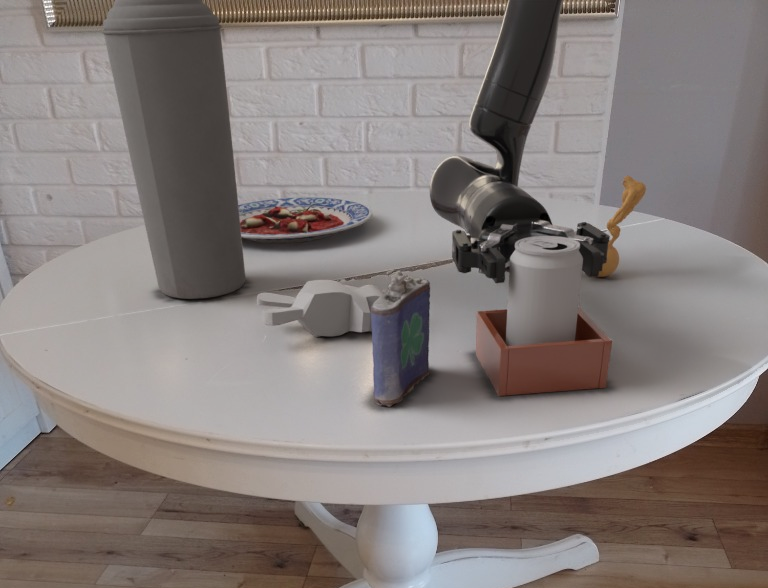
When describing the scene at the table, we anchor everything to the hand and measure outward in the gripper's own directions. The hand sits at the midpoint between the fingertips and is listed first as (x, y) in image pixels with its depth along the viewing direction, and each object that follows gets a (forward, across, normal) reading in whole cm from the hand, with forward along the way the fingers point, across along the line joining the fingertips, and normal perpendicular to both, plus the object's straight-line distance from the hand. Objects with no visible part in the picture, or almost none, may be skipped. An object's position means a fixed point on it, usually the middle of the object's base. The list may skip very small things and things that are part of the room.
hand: (549, 268), depth 70 cm
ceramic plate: (-62, -23, +10) cm, 67 cm away
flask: (0, -13, +10) cm, 17 cm away
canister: (-34, -34, +10) cm, 50 cm away
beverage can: (-1, 0, +10) cm, 10 cm away
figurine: (-28, +17, +10) cm, 34 cm away
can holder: (-1, 0, +10) cm, 10 cm away
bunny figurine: (-16, -19, +10) cm, 27 cm away
